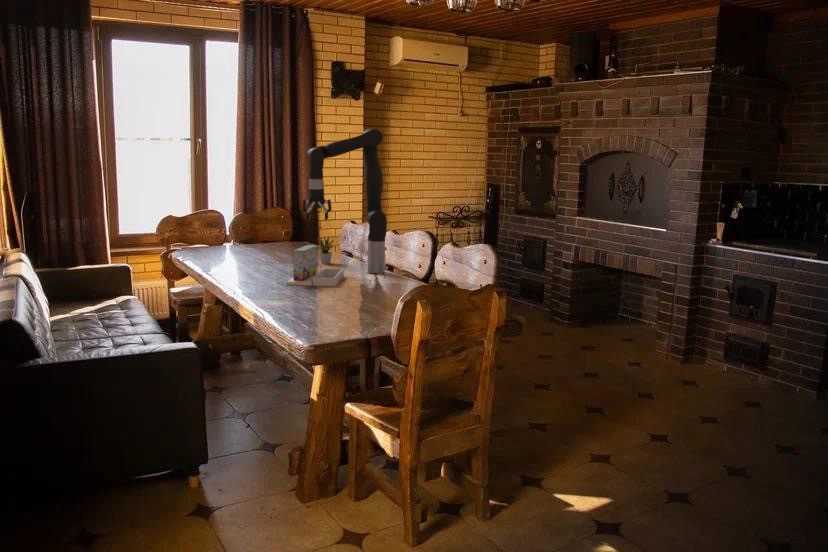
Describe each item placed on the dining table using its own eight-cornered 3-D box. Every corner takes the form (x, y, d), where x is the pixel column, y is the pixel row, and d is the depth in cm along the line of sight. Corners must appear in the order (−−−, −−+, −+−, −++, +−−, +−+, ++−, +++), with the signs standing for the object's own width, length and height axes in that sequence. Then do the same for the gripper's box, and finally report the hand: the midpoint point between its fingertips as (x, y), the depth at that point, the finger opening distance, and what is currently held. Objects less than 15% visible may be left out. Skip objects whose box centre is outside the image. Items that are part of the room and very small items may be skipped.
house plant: (340, 265, 392) (340, 236, 389) (316, 266, 388) (315, 237, 386) (337, 261, 405) (337, 233, 402) (313, 262, 402) (313, 233, 399)
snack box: (304, 281, 336) (303, 250, 333) (293, 280, 337) (292, 249, 334) (317, 273, 356) (317, 244, 354) (307, 273, 357) (307, 244, 355)
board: (322, 275, 359) (322, 273, 359) (311, 285, 334) (311, 282, 334) (299, 275, 360) (299, 272, 360) (287, 284, 335) (286, 281, 334)
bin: (343, 276, 359) (343, 268, 358) (335, 286, 333) (335, 278, 332) (323, 275, 359) (323, 268, 359) (313, 285, 334) (313, 277, 333)
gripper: (331, 187, 355) (332, 219, 358) (303, 187, 355) (305, 219, 358) (329, 188, 347) (330, 220, 350) (301, 188, 348) (302, 221, 351)
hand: (317, 220), depth 354 cm, fingers open, 8 cm apart
